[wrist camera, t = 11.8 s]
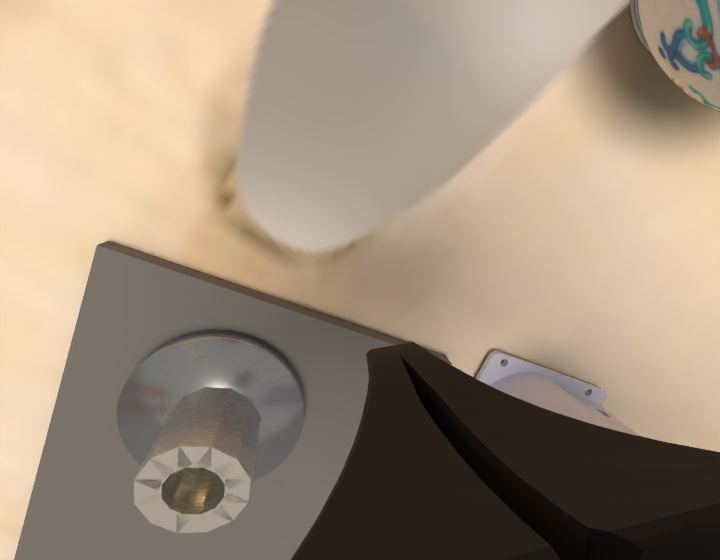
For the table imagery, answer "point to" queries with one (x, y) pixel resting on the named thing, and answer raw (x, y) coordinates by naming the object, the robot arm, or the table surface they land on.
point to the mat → (118, 468)
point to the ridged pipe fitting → (200, 462)
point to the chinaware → (683, 43)
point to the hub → (220, 370)
